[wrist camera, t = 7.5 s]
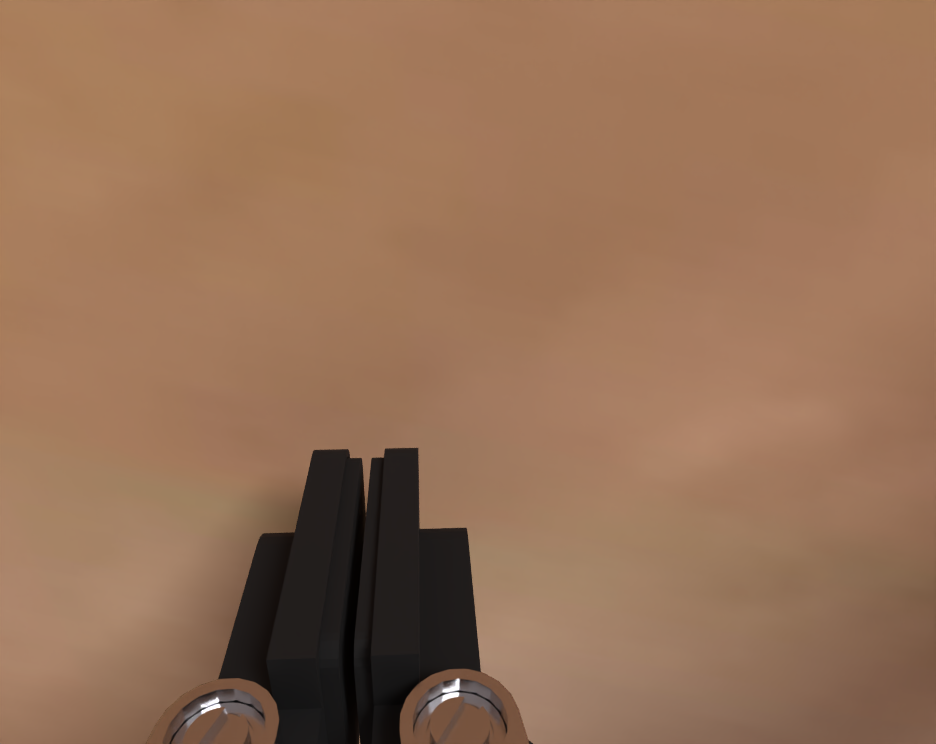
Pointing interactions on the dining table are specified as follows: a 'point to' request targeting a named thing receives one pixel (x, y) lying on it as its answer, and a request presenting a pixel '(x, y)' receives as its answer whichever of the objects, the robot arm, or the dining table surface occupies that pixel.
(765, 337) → the dining table surface
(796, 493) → the dining table surface
